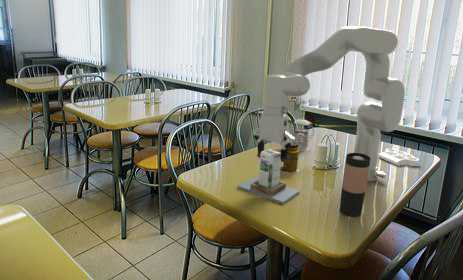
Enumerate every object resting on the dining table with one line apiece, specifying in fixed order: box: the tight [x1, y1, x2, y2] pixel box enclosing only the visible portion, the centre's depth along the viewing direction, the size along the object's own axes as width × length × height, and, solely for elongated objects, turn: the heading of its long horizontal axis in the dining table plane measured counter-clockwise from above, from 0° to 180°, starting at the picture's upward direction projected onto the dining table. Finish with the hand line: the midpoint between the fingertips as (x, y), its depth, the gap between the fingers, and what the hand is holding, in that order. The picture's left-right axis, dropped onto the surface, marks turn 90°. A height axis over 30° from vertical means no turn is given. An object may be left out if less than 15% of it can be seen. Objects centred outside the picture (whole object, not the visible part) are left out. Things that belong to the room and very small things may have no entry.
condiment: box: [280, 142, 302, 175], centre depth 158 cm, size 7×8×12 cm
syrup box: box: [258, 148, 282, 190], centre depth 136 cm, size 6×6×14 cm
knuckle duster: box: [378, 148, 420, 167], centre depth 176 cm, size 3×18×15 cm
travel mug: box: [339, 152, 371, 218], centre depth 122 cm, size 8×8×20 cm
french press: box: [292, 100, 315, 152], centre depth 185 cm, size 10×12×25 cm
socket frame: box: [250, 180, 287, 196], centre depth 138 cm, size 10×10×2 cm
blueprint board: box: [237, 176, 300, 205], centre depth 138 cm, size 20×12×1 cm, turn 52°
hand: (271, 155), depth 134 cm, fingers open, 9 cm apart
